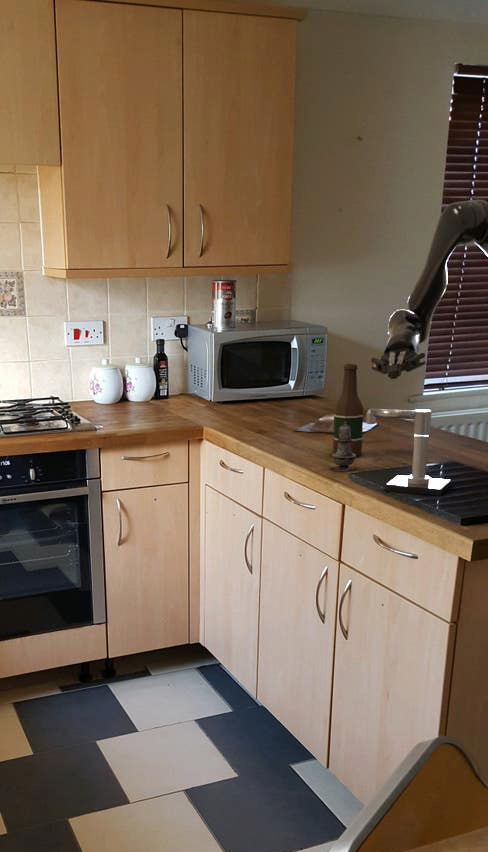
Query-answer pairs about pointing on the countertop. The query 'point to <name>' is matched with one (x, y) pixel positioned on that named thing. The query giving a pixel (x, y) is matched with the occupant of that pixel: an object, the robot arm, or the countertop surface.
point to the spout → (420, 418)
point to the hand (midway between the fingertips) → (393, 374)
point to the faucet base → (418, 488)
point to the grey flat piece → (328, 425)
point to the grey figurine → (344, 450)
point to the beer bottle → (349, 411)
